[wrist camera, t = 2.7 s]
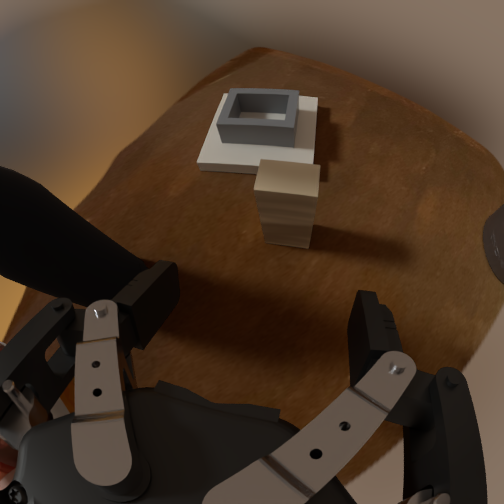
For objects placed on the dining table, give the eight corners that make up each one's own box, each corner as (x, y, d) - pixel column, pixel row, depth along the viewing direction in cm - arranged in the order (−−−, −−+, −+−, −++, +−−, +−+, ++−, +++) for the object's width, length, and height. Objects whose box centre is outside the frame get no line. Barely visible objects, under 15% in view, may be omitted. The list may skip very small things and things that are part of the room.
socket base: (311, 179, 27) (314, 151, 23) (200, 170, 29) (188, 144, 25) (317, 106, 31) (318, 79, 27) (226, 101, 33) (219, 76, 29)
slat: (308, 248, 25) (317, 196, 16) (265, 242, 25) (253, 189, 17) (311, 223, 26) (320, 165, 17) (269, 218, 26) (260, 159, 18)
